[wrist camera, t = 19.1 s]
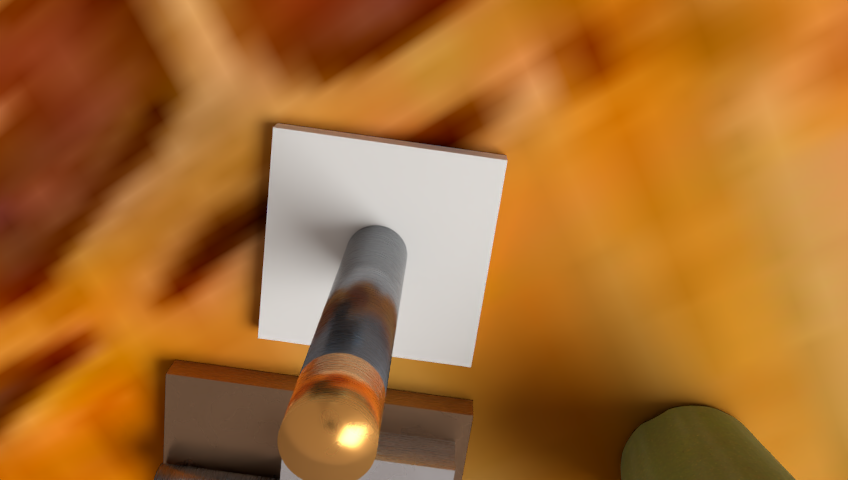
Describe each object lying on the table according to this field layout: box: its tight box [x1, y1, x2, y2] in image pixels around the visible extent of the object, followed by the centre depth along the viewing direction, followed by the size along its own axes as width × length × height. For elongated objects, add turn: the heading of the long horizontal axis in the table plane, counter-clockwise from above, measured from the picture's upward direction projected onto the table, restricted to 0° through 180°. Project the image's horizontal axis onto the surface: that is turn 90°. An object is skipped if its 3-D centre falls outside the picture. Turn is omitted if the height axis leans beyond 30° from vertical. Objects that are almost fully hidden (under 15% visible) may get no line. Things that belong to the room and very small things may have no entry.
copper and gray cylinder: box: [277, 225, 407, 480], centre depth 31 cm, size 3×3×16 cm
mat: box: [258, 123, 507, 367], centre depth 39 cm, size 11×11×1 cm
